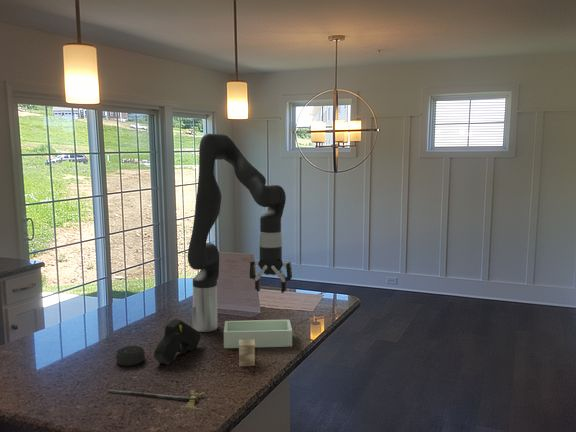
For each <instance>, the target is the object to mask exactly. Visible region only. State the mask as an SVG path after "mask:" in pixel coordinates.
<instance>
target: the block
mask: <svg viewBox="0 0 576 432" xmlns="http://www.w3.org/2000/svg"><path fill="white" fill-rule="evenodd" d="M255 348H256V347H255V340H254V339H250V340H239V348H238V359H239V361H238V365H239V367H256V352H255V351H256V349H255Z"/></svg>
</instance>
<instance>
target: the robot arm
mask: <svg viewBox="0 0 576 432" xmlns="http://www.w3.org/2000/svg"><path fill="white" fill-rule="evenodd" d="M198 153H199V154H198V178H197V179H198V180H197V188H196V189H197V190H196V196H195V206H194V217H193V225H192V230H191V236H190V239H189V240H190V241H189V245H188V251H187V262H188V265H189V267H190V268H191V269H192V270H195V271H199V272H198V273H197V274H196V275H195V276H194V277H193V278H192V309H191V310H192V328H194V329H195V330H197V331H198V332H200V333H207V332H208V333H209V332H213V331H216V330H217V329H218V279H219V275H220V252H219V249H218V247H217V246H216V245H215V243H212V242H211V243H210V242H208V236H209V234H210V232H211V230H212V228H213V226H214V224H215V223H216V221H217V220H218V218H219V215H220V211H221V206H222V205H221V204H222V191H221V190H220V187H219V184H218V181H217V180H216V177H215V176H216V175H215V162H216V161H217V160H221V161H222V160H224V161H226V162H227V163H228V164H230V165H232V167H233V169H234V174H235V177H236V178H237V180H238V181H239V182H240V183H241V184H242V185H243V186H244V187H245V188H246V189H247V190H248V191H249V193H250V195H251V197H252V198H253V201H255V203H256V204H257V205H258V206H260V207H262V208H267V211H266V213H263V214H261V215H260V219H259V231H260V232H259V239H258V240H259V242H258V243H259V260H258V261H256V260H255V259H254V260H251V261H250V263H249V279H252V280H254V289H255V290H256V292H260V291H261V277H262V276H263V275H264V274H265V275H268V276H269V275H272V276H277V277H278V278H279V279H280V281H281V283H280V284H281V285H280V286H281V287H280V289H281V294H284V293H285V292H287V291H286V290H287V282H290V281H291V280H292V279H293V274H292V273H293V272H292V271H293V270H292V262H291V261H288V262H283V259H282V257H283V255H282V254H283V251H282V250H283V248H282V247H283V239H282V216H283V213H284V209H285V205H286V200H287V198H286V197H287V194H286V191H285V189H284V187H282V186H280V185H278V184H273V185H266V184H267V181H266V177H265V176H264V174H262V172H260V171H259V170H258V169H257V168H256V167H255V166H253V164H251V163H250V161H248V160H247V158H246V157H245V156H244V155H243V152H241V150H240V149H239V147H238V146H237V145H236V144H235V142H234V141H233V140H232V139H231V138H230V137H229V136H228V135H227V134H221V133H219V134H217V133H205V134H203V136H202V137H201V139H200V143H199V149H198ZM257 267H259V268H260V269H261V270H259V272H258V273H257V274H256V268H257ZM283 267H284V269H285V270H286V275H285V274H284V272H283V270H282V268H283Z"/></svg>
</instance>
